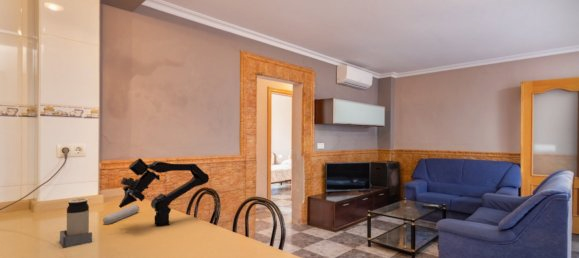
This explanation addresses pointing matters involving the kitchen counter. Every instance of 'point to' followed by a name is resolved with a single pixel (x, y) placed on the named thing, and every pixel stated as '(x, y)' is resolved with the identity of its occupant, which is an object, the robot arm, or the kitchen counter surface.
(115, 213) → the tube
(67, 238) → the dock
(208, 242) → the kitchen counter surface
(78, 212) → the travel mug
